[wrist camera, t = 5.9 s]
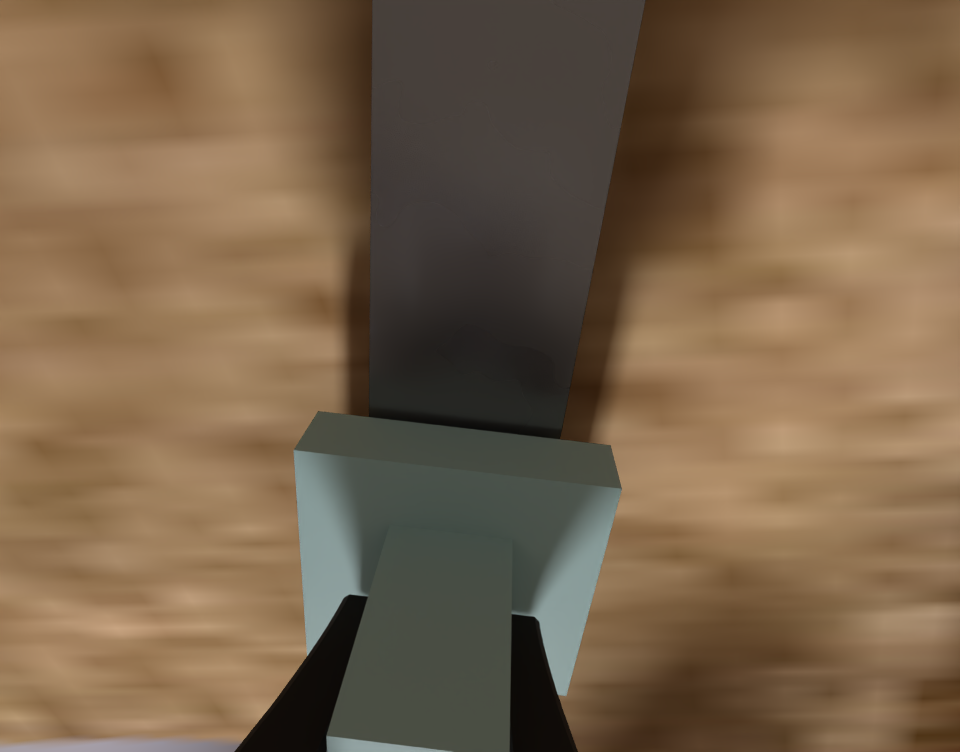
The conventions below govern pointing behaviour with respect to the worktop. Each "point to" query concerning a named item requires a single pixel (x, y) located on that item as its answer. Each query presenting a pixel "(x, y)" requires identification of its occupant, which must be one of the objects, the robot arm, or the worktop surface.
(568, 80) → the rail
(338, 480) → the carriage
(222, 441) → the worktop surface
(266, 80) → the worktop surface
